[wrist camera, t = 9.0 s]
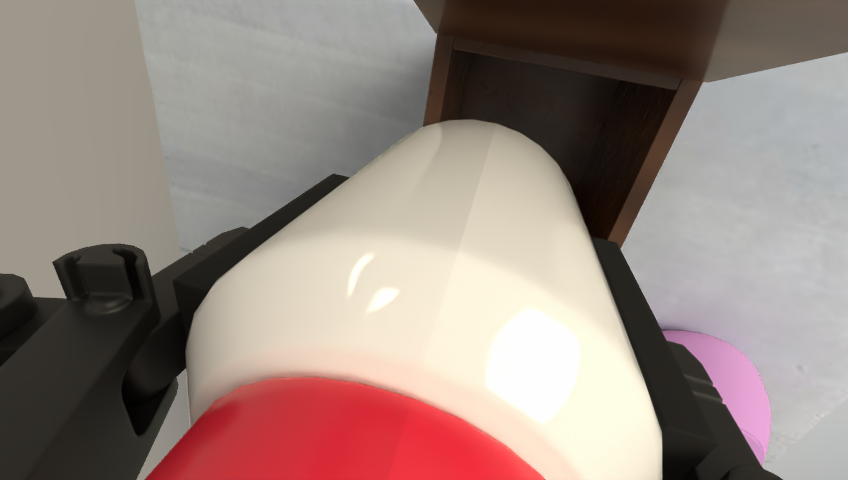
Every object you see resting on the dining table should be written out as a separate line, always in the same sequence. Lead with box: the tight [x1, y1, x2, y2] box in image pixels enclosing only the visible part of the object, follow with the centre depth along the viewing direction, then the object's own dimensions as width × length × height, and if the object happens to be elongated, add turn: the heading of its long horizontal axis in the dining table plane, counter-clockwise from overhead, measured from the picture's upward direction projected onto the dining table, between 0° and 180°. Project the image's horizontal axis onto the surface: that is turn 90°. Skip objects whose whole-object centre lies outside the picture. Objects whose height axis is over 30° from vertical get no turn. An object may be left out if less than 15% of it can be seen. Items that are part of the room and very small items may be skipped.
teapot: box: [662, 330, 771, 466], centre depth 37 cm, size 22×16×12 cm
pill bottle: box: [145, 119, 662, 480], centre depth 8 cm, size 8×8×11 cm
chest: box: [423, 34, 703, 249], centre depth 28 cm, size 14×14×13 cm
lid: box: [414, 0, 848, 82], centre depth 12 cm, size 15×14×1 cm
